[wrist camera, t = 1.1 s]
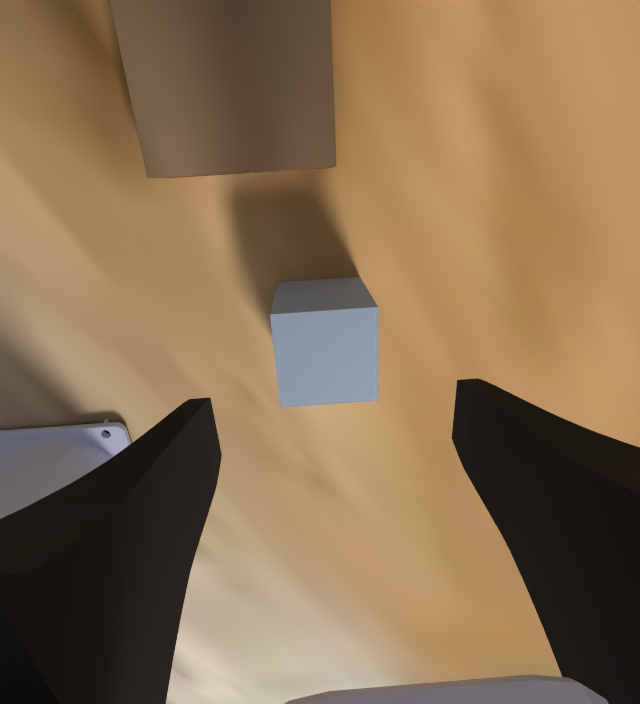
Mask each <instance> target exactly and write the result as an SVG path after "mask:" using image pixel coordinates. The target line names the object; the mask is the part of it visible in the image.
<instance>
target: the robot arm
mask: <svg viewBox="0 0 640 704" xmlns="http://www.w3.org/2000/svg"><path fill="white" fill-rule="evenodd" d="M104 430H107V431H109V432H110V434H107V433H106V432H105V431H104ZM452 440H453V442H454V445H455V448H456V450H457V453H458V456H459V458H460V460H461V463H462V465H463V468H464V469H465V471H466V473H467V475H468V477H469V478H470V480H471V482H472V484H473V485H474V487H475V489H476V491H477V492H478V494H479V496H480V498H481V499H482V501H483V503H484V505H485V506H486V508H487V510H488V511H489V513H490V515H491V517H492V518H493V520H494V522H495V524H496V525H497V527H498V529H499V531H500V532H501V534H502V536H503V538H504V540H505V542H506V544H507V546H508V547H509V549H510V551H511V554H512V556H513V558H514V560H515V563H516V565H517V567H518V569H519V572H520V574H521V576H522V578H523V580H524V583H525V585H526V587H527V590H528V592H529V594H530V597H531V599H532V602H533V604H534V606H535V609H536V611H537V613H538V616H539V618H540V621H541V623H542V625H543V628H544V630H545V633H546V636H547V638H548V641H549V643H550V646H551V648H552V651H553V653H554V656H555V659H556V661H557V664H558V666H559V669H560V671H561V674H562V677H554V676H541V675H519V676H507V677H495V678H483V679H471V680H459V681H447V682H435V683H423V684H411V685H399V686H387V687H375V688H363V689H350V690H338V691H328V692H324V693H320V694H316V695H311V696H307V697H303V698H299V699H294V700H290V701H288V702H286V703H285V704H640V447H637V446H633V445H630V444H627V443H624V442H621V441H619V440H616V439H613V438H610V437H608V436H605V435H602V434H599V433H597V432H594V431H591V430H589V429H586V428H584V427H581V426H579V425H577V424H574V423H572V422H570V421H568V420H565V419H563V418H561V417H558V416H556V415H554V414H552V413H550V412H547V411H545V410H543V409H541V408H539V407H537V406H535V405H533V404H531V403H529V402H527V401H525V400H523V399H521V398H519V397H517V396H515V395H513V394H511V393H509V392H507V391H505V390H503V389H501V388H499V387H497V386H495V385H492V384H490V383H488V382H486V381H483V380H481V379H466V380H457V389H456V400H455V410H454V421H453V431H452ZM221 456H222V455H221V450H220V444H219V439H218V434H217V429H216V424H215V419H214V414H213V409H212V404H211V399H210V398H200V399H189V400H187V401H186V402H184V403H183V404H182V405H180V406H179V407H178V408H176V409H175V410H174V411H173V412H171V413H170V414H169V415H168V416H166V417H165V418H164V419H163V420H161V421H160V422H159V423H158V424H156V425H155V426H154V427H153V428H151V429H150V430H149V431H148V432H146V433H145V434H144V435H142V436H141V437H140V438H138V439H137V440H136V441H134V442H133V443H131V441H130V438H129V434H128V431H127V428H126V427H125V426H124V425H123V424H122V423H119V422H110V423H97V424H83V425H69V426H56V427H42V428H28V429H14V430H1V431H0V704H166V698H167V692H168V686H169V680H170V674H171V668H172V662H173V656H174V650H175V645H176V640H177V634H178V629H179V624H180V618H181V613H182V608H183V603H184V598H185V594H186V589H187V584H188V579H189V575H190V571H191V567H192V563H193V560H194V556H195V553H196V550H197V547H198V544H199V540H200V537H201V534H202V531H203V528H204V525H205V521H206V518H207V515H208V512H209V509H210V506H211V502H212V499H213V496H214V493H215V489H216V486H217V480H218V475H219V469H220V462H221Z"/></svg>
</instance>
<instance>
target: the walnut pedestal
mask: <svg viewBox="0 0 640 704" xmlns="http://www.w3.org/2000/svg"><path fill="white" fill-rule="evenodd" d="M109 2H110V6H111V11H112V15H113V20H114V25H115V29H116V34H117V39H118V43H119V48H120V53H121V57H122V62H123V66H124V71H125V76H126V80H127V85H128V90H129V94H130V99H131V104H132V108H133V113H134V118H135V122H136V127H137V131H138V136H139V141H140V145H141V150H142V155H143V159H144V164H145V169H146V173H147V178H178V177H194V176H210V175H226V174H242V173H258V172H273V171H289V170H305V169H321V168H332V167H335V166H336V146H335V119H334V93H333V66H332V39H331V12H330V0H109Z"/></svg>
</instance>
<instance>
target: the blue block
mask: <svg viewBox="0 0 640 704" xmlns="http://www.w3.org/2000/svg"><path fill="white" fill-rule="evenodd" d="M270 321H271V329H272V338H273V347H274V355H275V364H276V373H277V382H278V390H279V399H280V408H284V407H297V406H311V405H325V404H338V403H352V402H366V401H378V306H377V304H376V303H375V301H374V299H373V298H372V296H371V294H370V293H369V291H368V289H367V288H366V286H365V284H364V283H363V281H362V279H361V278H360V277H346V278H332V279H317V280H302V281H287V282H277V285H276V290H275V294H274V298H273V303H272V307H271V311H270Z"/></svg>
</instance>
